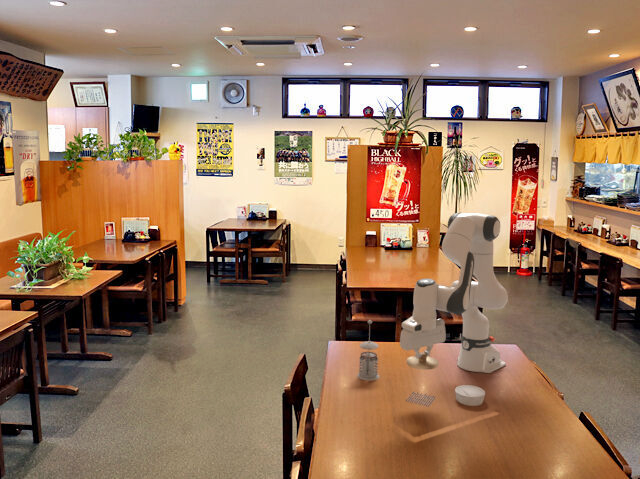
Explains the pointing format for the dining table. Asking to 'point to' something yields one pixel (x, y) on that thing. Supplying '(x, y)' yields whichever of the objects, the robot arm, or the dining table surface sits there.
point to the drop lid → (422, 362)
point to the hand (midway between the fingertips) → (422, 356)
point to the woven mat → (421, 399)
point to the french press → (368, 361)
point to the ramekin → (469, 395)
